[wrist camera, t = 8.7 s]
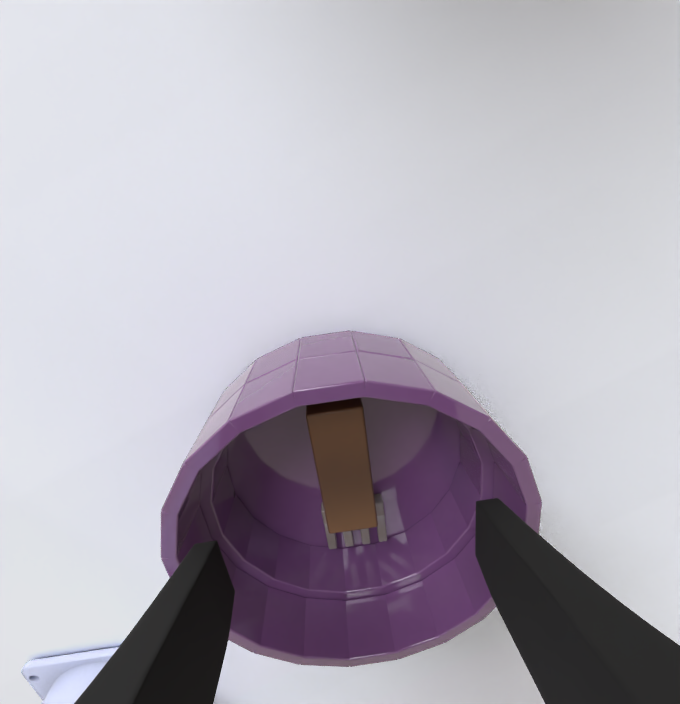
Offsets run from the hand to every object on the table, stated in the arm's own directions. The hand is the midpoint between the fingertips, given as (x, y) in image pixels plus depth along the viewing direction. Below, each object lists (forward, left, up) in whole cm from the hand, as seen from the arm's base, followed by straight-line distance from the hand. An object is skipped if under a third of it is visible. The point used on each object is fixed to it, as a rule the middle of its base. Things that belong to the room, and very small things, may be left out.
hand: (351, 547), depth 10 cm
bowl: (-1, 0, -6) cm, 6 cm away
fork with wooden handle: (-1, 0, -5) cm, 6 cm away
